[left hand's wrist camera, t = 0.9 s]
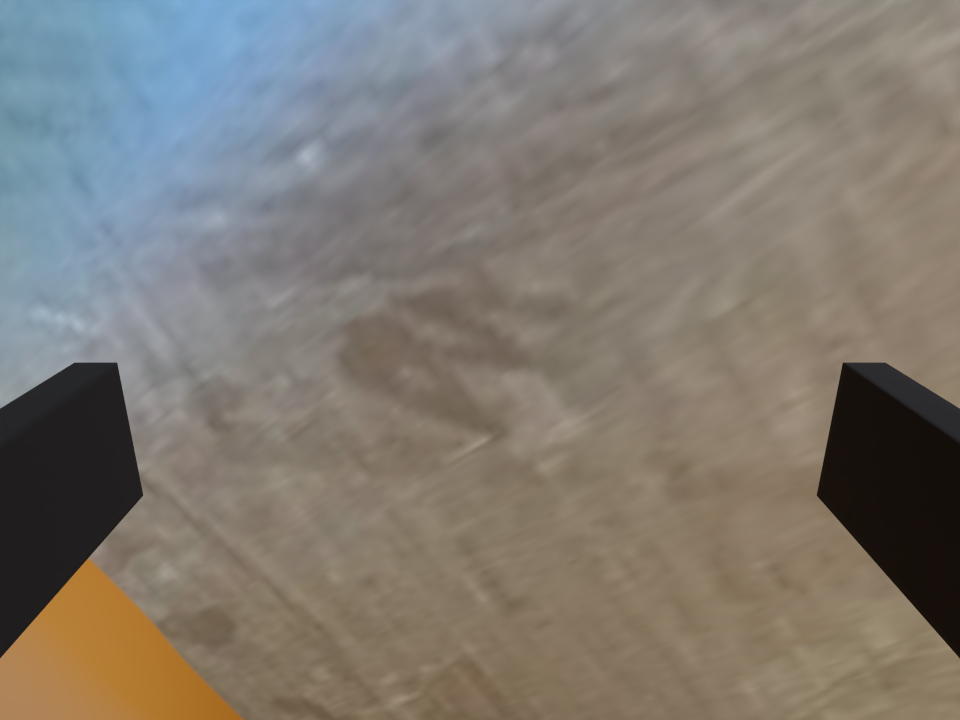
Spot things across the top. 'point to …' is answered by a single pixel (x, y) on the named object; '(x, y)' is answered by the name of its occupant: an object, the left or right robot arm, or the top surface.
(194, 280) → the top surface
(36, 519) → the left robot arm
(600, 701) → the top surface
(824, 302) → the top surface
